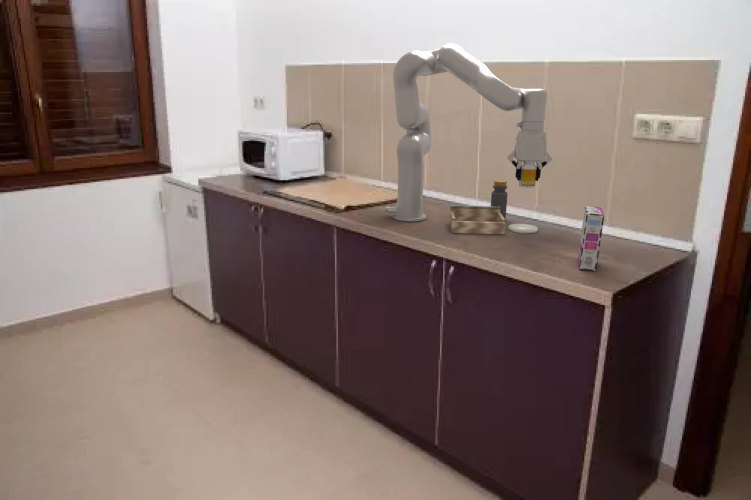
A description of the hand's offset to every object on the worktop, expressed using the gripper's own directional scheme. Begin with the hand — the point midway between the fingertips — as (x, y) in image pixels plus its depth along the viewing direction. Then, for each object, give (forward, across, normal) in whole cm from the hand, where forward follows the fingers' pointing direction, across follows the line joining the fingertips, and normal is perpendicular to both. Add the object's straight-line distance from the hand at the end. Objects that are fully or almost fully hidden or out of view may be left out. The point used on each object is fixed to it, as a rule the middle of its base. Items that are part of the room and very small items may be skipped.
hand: (527, 179), depth 201 cm
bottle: (+18, -7, +14) cm, 24 cm away
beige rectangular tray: (+18, -16, 0) cm, 24 cm away
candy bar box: (+18, +11, -38) cm, 44 cm away
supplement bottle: (+3, 0, 0) cm, 3 cm away
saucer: (+18, 0, 0) cm, 18 cm away
